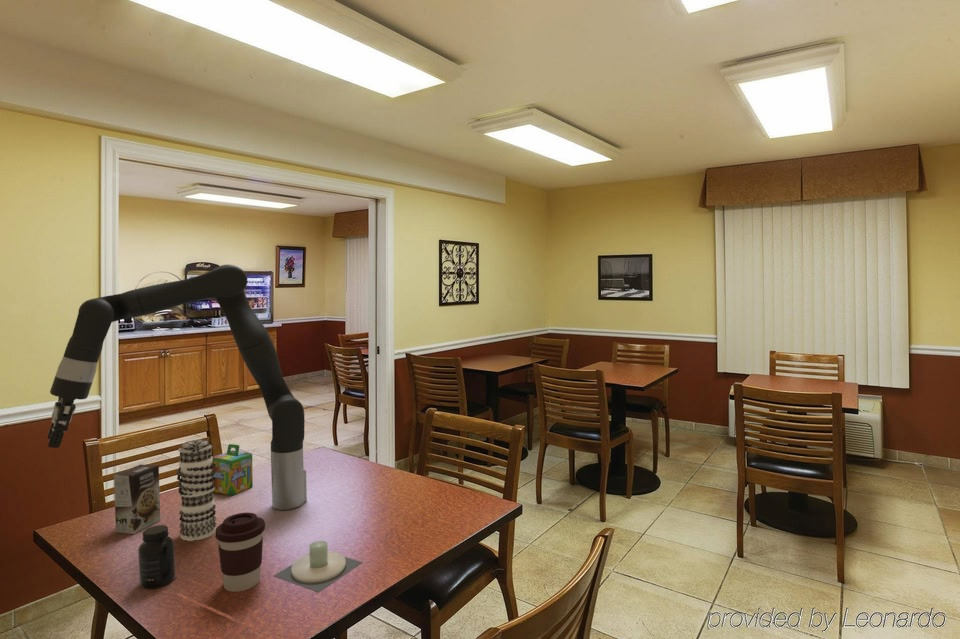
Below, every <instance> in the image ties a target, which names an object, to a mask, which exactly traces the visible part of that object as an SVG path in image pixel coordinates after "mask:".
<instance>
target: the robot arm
mask: <svg viewBox="0 0 960 639" xmlns="http://www.w3.org/2000/svg"><path fill="white" fill-rule="evenodd" d="M245 272H246V271H244V269H242V268H241V267H239V266H238V265H235V264H230V263H229V264H221V265H219V266H216V267H215V268H213V269H212V270H211V271H208V272H204V273H203V274H202V273H201V274H200V275H196V276H193V277H189V278H185V279H179V280H176V281H170V282H163V283H158V284H153V285H147V286H145V287H140V288H139V287H138V288H135V289H131V290H129V291H125V292H122V293H117V294H112V295H107V296H106V295H105V296H101V297H93V298H90V299H88V300H85V301H83V302H82V303H81V305H80V306H79V308H78V312H77V318H76V319H75V320H76V321H75V322H74V328H73V331H72V334H71V336H70V338H69V340H68V342H67V344H66V346H65V350H64V353H63V356H62V358H61V361H60V362H59V364H58V367H57V370H56V373H55V376H54V379H53V382H52V385H51V387H50V391H49V393H50V395H51V396H53V397H57V398H58V399H57V400H58V401H55V403H54V405H53V410H52V414H51V417H52V418H51V425H50V426H49V427H50V428H49V431H48V434H47V439H48V442H47V443H48V444H47V447H48V448H51V449H52V448H53V449H59V447H60V446H61V444H62V441H63V437H64V435H65V433H66V432H67V431H68V430H69V424H70V423H71V422H72V419H73V415H74V413H75V411H76V403H74V402H75V400H86V399H87V398H88V397H89V394H90V391H91V388H92V386H93V382H94V378H95V375H96V374H97V373H96V372H97V367H98V363H99V360H100V356H101V353H102V350H103V346H104V342H105V339H106V337H107V335H108V333H109V330H110V327H111V325H112V323H115V322H118V321H121V320H126V319H129V318H140V317H144V316H147V315H151V314H155V313H158V312H163V311H165V310H169V309H172V308H175V307H179V306H182V305H185V304H188V303H192V302H197V301H200V300H205V299H211V298H214V299H215V300H216V302H217V303H218V305H219V307H220V309H221V310H222V312H223V314H224V316H225V319H226V320H227V324H228V326H229V328H230V331H231V334H232V337H233V339H234V342H235V345H236V346H237V348H238V351H239V353H240V355H241V358H242V359H243V361H244V363H245V366H246V368H247V369H248V371H249V373H250V374H251V376H252V377H253V379H254V380H255V382H256V384H257V386H258V387H259V390H260V392H261V395H262V398H263V401H264V403H265V408H266V410H267V411H266V412H267V413H268V416H269V418H270V420H271V429H272V430H271V434H272V436H271V440H270V467H271V469H270V470H271V474H270V476H271V503H272V504H271V505H272V506H271V507H272V508H273V509H275V510H277V511H285V510H287V511H288V510H293V509H296V508H299V507H301V506H303V505H304V504H305V502H307V501H308V500H307V499H308V496H307V495H308V494H307V493H308V492H307V490H308V489H307V471H306V469H305V468H304V440H305V409H304V406H303V404H302V403H301V402H300V401H299V399H297V398H295V396H294V395H293V392H292V391H291V390H290V388H289V387H288V385H287V383H286V380H285V379H284V376H283V373H282V372H283V371H282V368H281V363H280V359H279V355H278V352H277V350H276V347H275V344H274V342H273V340H272V338H271V336H270V333H269V332H268V330H267V328H266V327H265V325H264V324H263V322H261V320H260V319H259V318H258V316H257V315H256V313H255V312H254V311H253V309H252V307H251V306H250V304H249V300H248V298H247V295H246V293H245V289H246V288H247V286H248V276H247V274H246V273H245Z"/></svg>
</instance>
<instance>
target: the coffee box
mask: <svg viewBox="0 0 960 639" xmlns="http://www.w3.org/2000/svg"><path fill="white" fill-rule="evenodd" d="M113 483H114V485H113V487H114V488H113V489H114V490H113V491H114V521H115V526H114V527H115V532H116V533H121V534H122V533H123V534H131V535H135V534H138V533H139V532H141V531H144V530H146V529H147V528H150V527H152V525H154V524H157V523H158V522H160V521H161V499H160V498H161V495H160V492H161V491H160V466H159V465H157V464H139V465H135V466H133V467H131V468H128V469H124V470H122V471H119V472H116V473H114V474H113Z"/></svg>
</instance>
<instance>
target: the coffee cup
mask: <svg viewBox="0 0 960 639" xmlns="http://www.w3.org/2000/svg"><path fill="white" fill-rule="evenodd" d="M215 528H216V530H215V533H214V535H215V539H216V540H217V541H218V554H219V563H220V565H219V566H220V570H221V573H222V580H223V581H222V582H223V588H224V590H226V591H228V592H233V593H235V592H243V591H246V590H249V589H252V588H254V587H255V586H257V584H258V583H260V581H261V566H262V563H263V546H264V545H263V544H264V538H263V532H264V531H265V529H266V521H265V520H264V518H262V517H259V516H258V515H257V514H256V513H253V512H238V513H235V514H232V515H230V516H228V517H226V518H225V519H224V520H223V521H222V523H220V524H219V525H218V526H217V527H215Z"/></svg>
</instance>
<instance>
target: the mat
mask: <svg viewBox="0 0 960 639" xmlns="http://www.w3.org/2000/svg"><path fill="white" fill-rule="evenodd" d="M344 557H345V560H346V567H345V569H344V571H343V572H342V573H341V574H340V575H338V576H337V577H335V578H333V579H330V580H327V581H324V582H319V583H303V582H299V581H297V580H295V579H294V578H293V577H292V572H291V568H292V565H293V564H291V565H289V566H288V567H286V568H284V569H283V570H281V571H279V572H277V573H275V574H274V575H273V577H275V578H277V579H280V580H282V581H286V582H289V583H291V584H294V585H297V586H300V587H303V588H305V589H308V590H311V591H313V592H316V593H321V591H323V590H324V589H327V587H329V586H330V585H332V584H334V583H335V582H336V581H338V580H340V578H342V577H344V576H346V575H347V574H348V573H350V572H351V571H352V570H354V569H356V568H357V567H358V566H359V565H361V564H363V563H364V562H363V561H359V560H356V559H353V558H351V557H347V556H344Z"/></svg>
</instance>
